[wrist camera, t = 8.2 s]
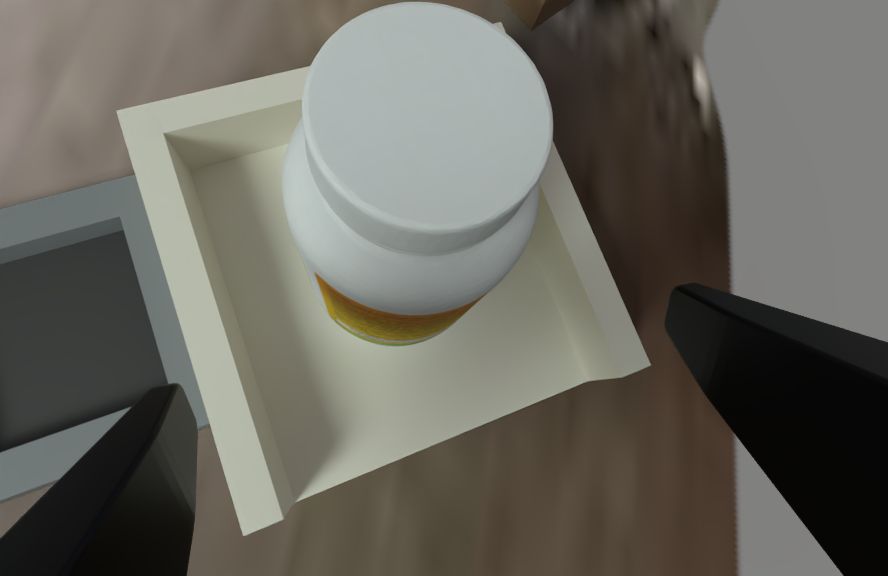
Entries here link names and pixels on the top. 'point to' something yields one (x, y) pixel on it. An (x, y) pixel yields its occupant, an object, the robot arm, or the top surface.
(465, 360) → the tray
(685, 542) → the top surface
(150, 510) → the robot arm
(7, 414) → the holed board
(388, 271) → the supplement bottle
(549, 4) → the walnut block
